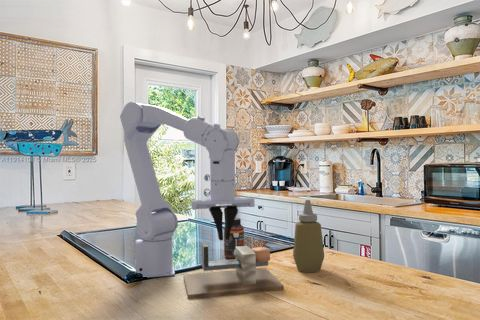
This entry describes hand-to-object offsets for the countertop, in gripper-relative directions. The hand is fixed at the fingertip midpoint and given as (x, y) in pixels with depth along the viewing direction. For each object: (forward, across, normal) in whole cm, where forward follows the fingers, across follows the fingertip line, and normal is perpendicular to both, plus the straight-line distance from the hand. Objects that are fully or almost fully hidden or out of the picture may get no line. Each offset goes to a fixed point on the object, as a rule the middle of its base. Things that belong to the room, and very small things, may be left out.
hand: (223, 239), depth 86 cm
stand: (+10, +2, 0) cm, 11 cm away
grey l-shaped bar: (+6, +3, 0) cm, 7 cm away
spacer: (+5, +9, 0) cm, 10 cm away
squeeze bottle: (+11, +23, +5) cm, 26 cm away
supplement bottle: (+11, +7, +23) cm, 26 cm away
